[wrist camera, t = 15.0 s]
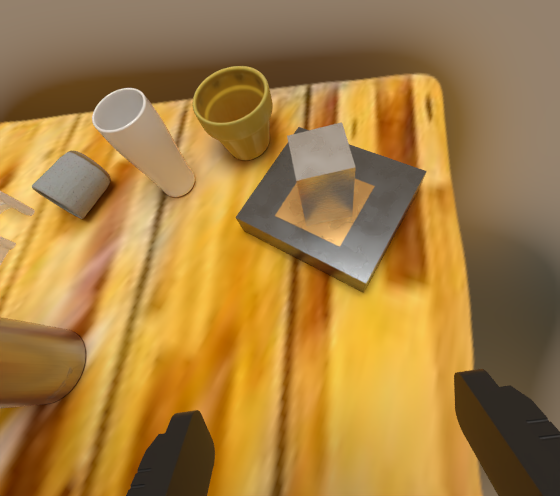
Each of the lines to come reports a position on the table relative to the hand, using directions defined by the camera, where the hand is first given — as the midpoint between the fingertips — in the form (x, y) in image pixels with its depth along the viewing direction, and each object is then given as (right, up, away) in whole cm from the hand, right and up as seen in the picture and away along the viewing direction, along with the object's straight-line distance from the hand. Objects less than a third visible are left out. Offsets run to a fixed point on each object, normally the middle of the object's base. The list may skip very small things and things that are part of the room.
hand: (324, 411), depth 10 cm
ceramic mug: (-33, +14, +42) cm, 55 cm away
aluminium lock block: (+4, +11, +29) cm, 31 cm away
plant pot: (-6, +21, +40) cm, 46 cm away
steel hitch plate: (+5, +10, +33) cm, 35 cm away
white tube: (-17, +15, +39) cm, 45 cm away
